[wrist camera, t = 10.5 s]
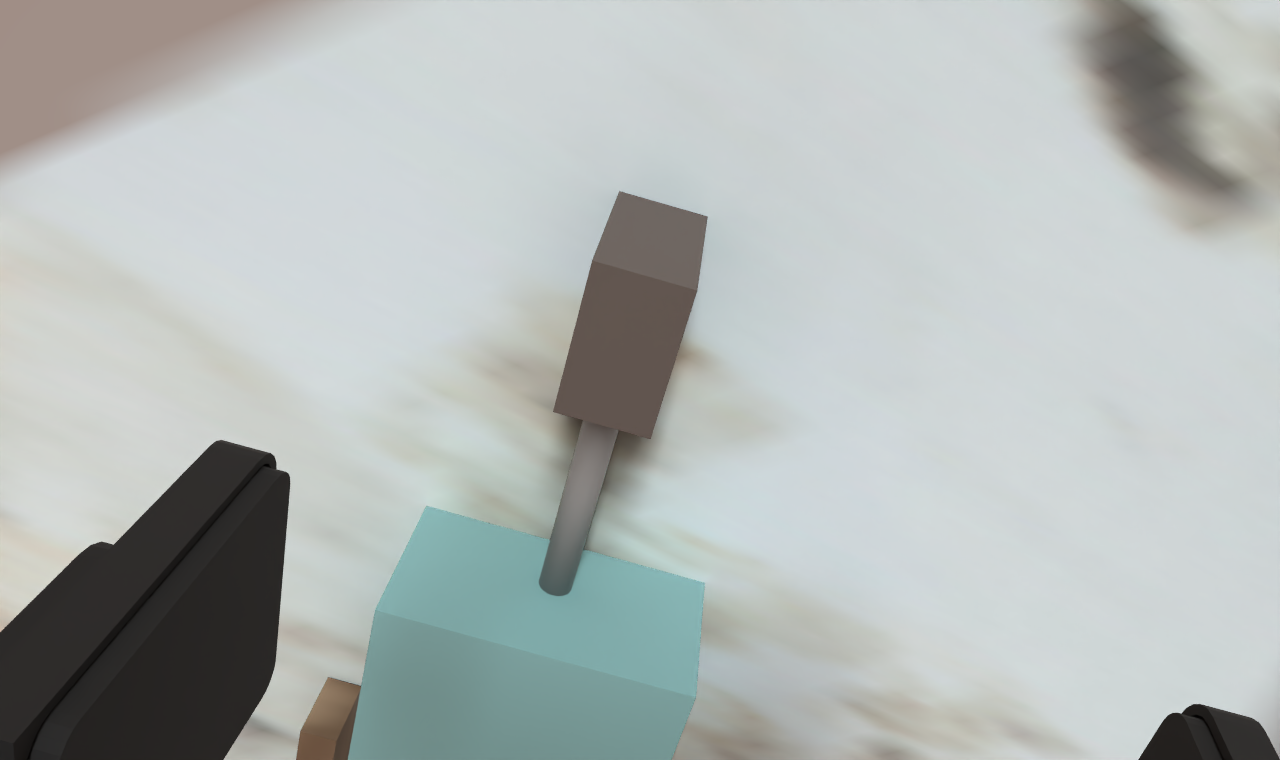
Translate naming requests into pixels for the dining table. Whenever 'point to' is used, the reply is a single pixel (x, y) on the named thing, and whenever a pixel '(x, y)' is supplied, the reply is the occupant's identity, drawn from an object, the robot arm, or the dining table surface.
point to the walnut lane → (330, 723)
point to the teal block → (554, 563)
